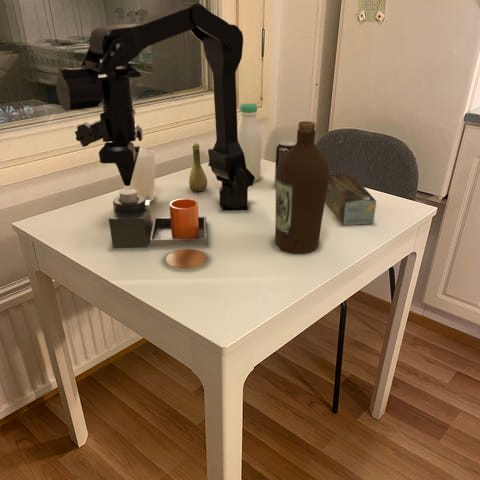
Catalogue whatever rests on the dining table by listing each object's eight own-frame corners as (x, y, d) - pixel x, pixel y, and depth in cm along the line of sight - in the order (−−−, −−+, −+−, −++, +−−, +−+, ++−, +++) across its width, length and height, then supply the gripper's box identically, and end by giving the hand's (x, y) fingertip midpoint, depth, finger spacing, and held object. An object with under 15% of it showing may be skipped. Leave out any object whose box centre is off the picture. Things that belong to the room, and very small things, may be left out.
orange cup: (198, 228, 111) (197, 198, 107) (198, 239, 106) (197, 208, 102) (172, 228, 110) (170, 198, 106) (171, 239, 105) (169, 209, 101)
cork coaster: (207, 250, 102) (207, 248, 102) (207, 270, 95) (207, 267, 95) (167, 251, 101) (166, 249, 101) (164, 270, 95) (164, 268, 94)
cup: (161, 194, 129) (158, 148, 122) (153, 206, 122) (149, 158, 115) (128, 192, 130) (123, 146, 123) (118, 205, 122) (112, 157, 116)
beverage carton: (341, 226, 114) (344, 199, 110) (319, 197, 129) (322, 172, 126) (373, 224, 114) (378, 197, 111) (348, 196, 130) (352, 171, 126)
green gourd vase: (194, 185, 135) (193, 141, 129) (211, 187, 134) (210, 142, 127) (186, 192, 131) (183, 146, 124) (202, 194, 130) (201, 148, 123)
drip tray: (206, 224, 113) (206, 216, 112) (207, 247, 104) (206, 238, 102) (154, 225, 113) (153, 217, 111) (150, 248, 103) (149, 239, 102)
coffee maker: (151, 224, 113) (148, 188, 108) (146, 249, 102) (142, 210, 97) (121, 224, 112) (116, 189, 108) (113, 249, 102) (107, 211, 97)
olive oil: (306, 231, 111) (318, 115, 97) (330, 251, 103) (346, 127, 89) (264, 238, 108) (269, 118, 93) (284, 258, 100) (294, 131, 85)
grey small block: (150, 208, 105) (149, 200, 104) (149, 213, 103) (148, 204, 102) (146, 208, 105) (146, 200, 104) (145, 213, 103) (144, 204, 102)
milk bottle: (263, 176, 143) (266, 103, 132) (255, 184, 137) (257, 108, 126) (238, 173, 145) (239, 100, 134) (229, 181, 139) (229, 106, 128)
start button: (138, 197, 104) (137, 188, 103) (136, 204, 101) (135, 194, 100) (121, 198, 104) (120, 188, 103) (119, 204, 101) (118, 194, 100)
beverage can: (288, 181, 139) (291, 138, 132) (298, 188, 135) (302, 143, 128) (270, 184, 137) (273, 140, 130) (280, 191, 133) (283, 146, 126)
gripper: (83, 95, 99) (95, 171, 108) (63, 115, 84) (79, 202, 93) (138, 95, 100) (146, 171, 109) (128, 115, 85) (137, 201, 93)
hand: (127, 185), depth 101 cm, fingers closed
